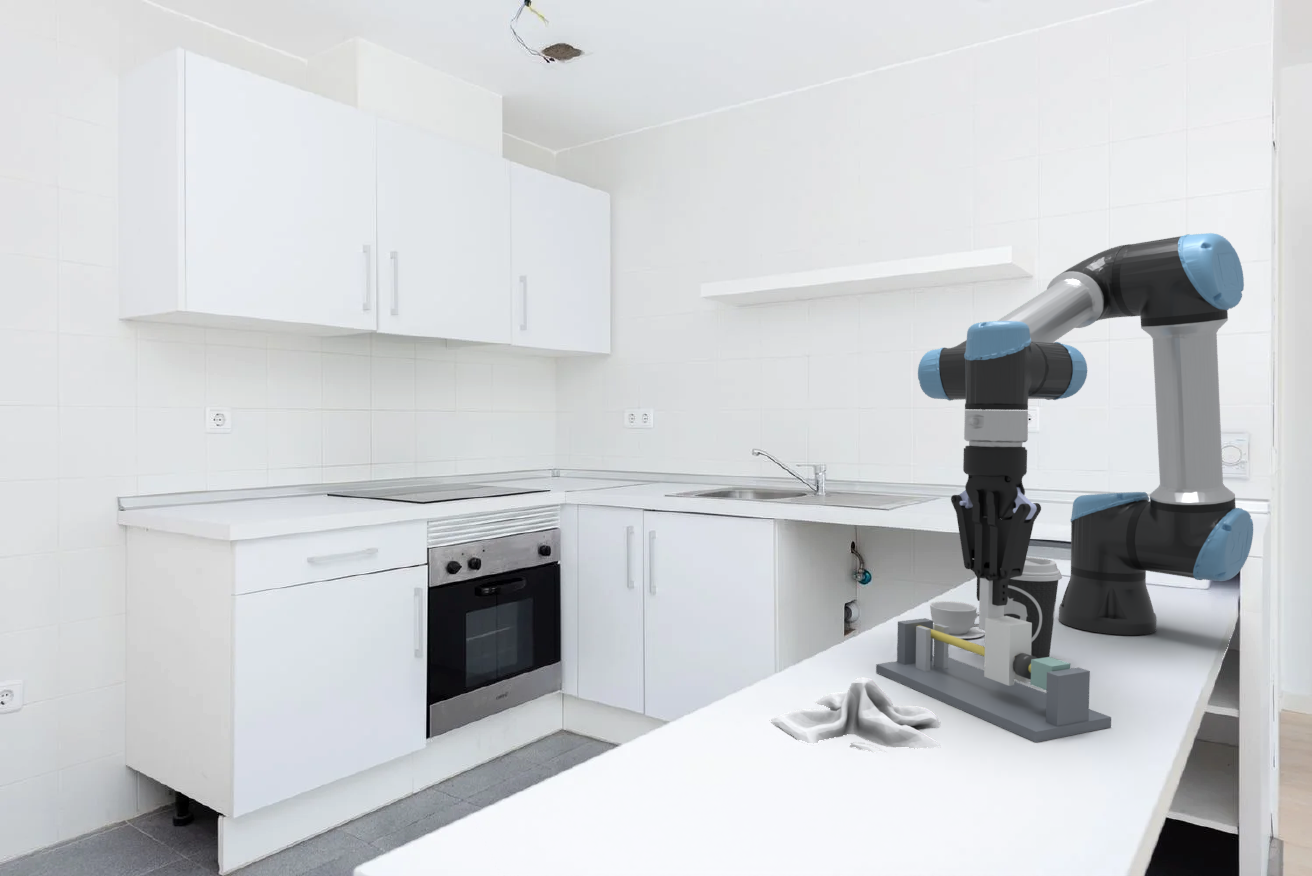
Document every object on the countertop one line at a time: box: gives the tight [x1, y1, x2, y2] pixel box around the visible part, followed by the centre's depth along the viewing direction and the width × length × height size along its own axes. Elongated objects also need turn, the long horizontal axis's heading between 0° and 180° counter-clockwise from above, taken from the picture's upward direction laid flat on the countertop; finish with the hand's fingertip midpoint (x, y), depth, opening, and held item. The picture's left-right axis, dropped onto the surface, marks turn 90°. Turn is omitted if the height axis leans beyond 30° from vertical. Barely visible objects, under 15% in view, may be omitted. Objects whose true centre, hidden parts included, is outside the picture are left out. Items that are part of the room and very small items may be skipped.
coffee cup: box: [1004, 556, 1063, 659], centre depth 128 cm, size 10×10×15 cm
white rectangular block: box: [983, 616, 1032, 686], centre depth 108 cm, size 4×4×7 cm
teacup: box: [929, 600, 985, 640], centre depth 145 cm, size 10×10×5 cm
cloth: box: [770, 676, 942, 753], centre depth 101 cm, size 22×19×6 cm
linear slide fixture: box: [875, 618, 1112, 743], centre depth 112 cm, size 28×12×8 cm, turn 24°
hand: (991, 628), depth 111 cm, fingers closed
